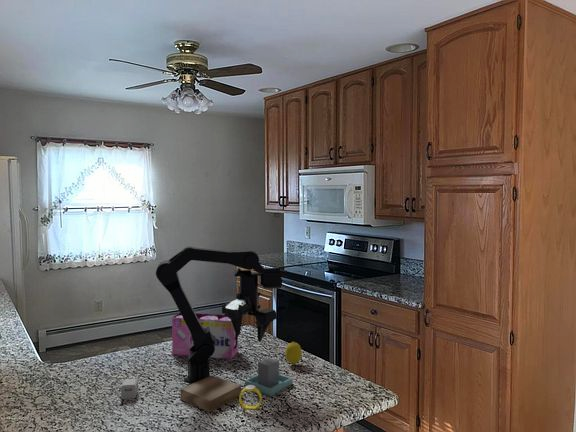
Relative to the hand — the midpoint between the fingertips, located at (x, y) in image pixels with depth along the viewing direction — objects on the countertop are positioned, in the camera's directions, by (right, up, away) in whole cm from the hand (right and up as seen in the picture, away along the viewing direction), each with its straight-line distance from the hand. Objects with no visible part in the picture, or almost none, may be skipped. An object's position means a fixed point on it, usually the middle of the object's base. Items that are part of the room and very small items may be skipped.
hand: (248, 338), depth 143 cm
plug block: (+7, -12, -7) cm, 15 cm away
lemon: (+14, -12, +10) cm, 21 cm away
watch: (+2, -13, -21) cm, 25 cm away
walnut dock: (-9, -13, -15) cm, 22 cm away
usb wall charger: (-33, -13, -13) cm, 38 cm away
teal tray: (+7, -12, -7) cm, 16 cm away
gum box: (-17, -11, +21) cm, 29 cm away
